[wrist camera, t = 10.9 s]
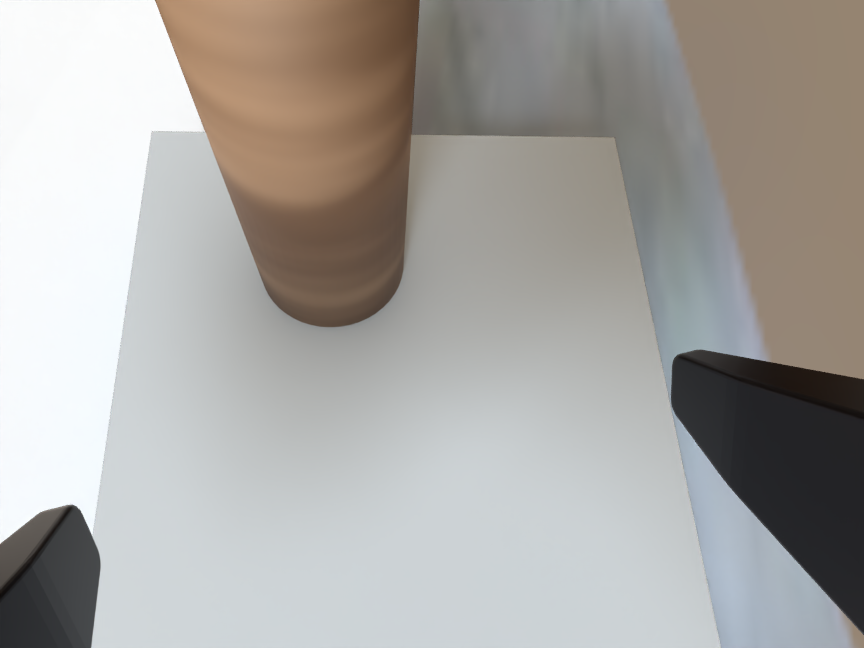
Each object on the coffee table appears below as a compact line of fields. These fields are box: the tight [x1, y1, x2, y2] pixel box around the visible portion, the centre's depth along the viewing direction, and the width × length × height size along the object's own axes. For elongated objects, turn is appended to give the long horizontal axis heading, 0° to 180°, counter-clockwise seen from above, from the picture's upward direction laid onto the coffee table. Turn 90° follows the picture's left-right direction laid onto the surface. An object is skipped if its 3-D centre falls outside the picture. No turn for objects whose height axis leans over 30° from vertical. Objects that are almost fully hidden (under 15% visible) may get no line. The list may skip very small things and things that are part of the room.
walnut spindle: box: [155, 0, 420, 327], centre depth 13 cm, size 4×4×12 cm
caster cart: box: [91, 131, 721, 648], centre depth 19 cm, size 22×16×4 cm
